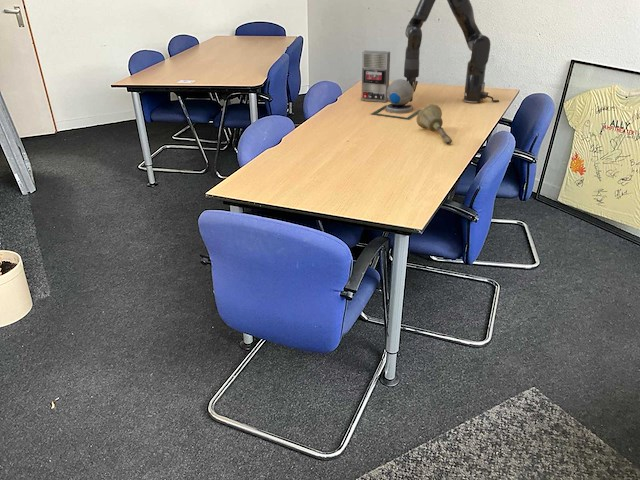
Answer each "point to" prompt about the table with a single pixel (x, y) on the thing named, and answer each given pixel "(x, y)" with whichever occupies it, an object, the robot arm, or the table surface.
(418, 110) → the tape bay
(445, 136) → the handbell
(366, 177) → the table surface
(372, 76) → the cassette tape recorder
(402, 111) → the webcam
